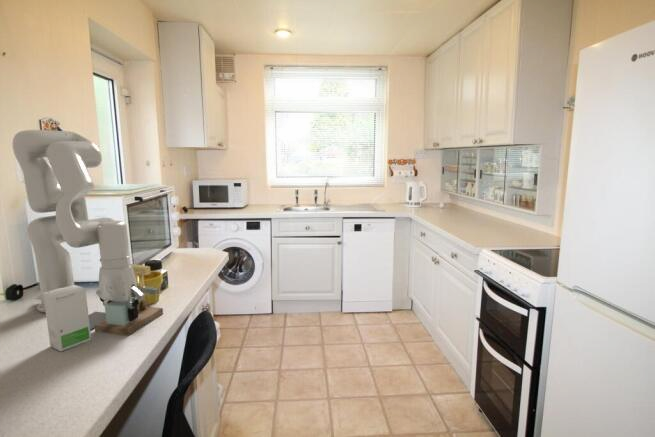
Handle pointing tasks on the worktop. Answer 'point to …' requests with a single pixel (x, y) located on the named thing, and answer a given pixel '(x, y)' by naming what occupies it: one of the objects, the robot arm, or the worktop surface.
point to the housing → (143, 319)
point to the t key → (139, 273)
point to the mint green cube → (117, 313)
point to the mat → (96, 318)
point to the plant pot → (153, 285)
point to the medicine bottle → (157, 266)
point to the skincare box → (67, 317)
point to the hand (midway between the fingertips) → (122, 317)
